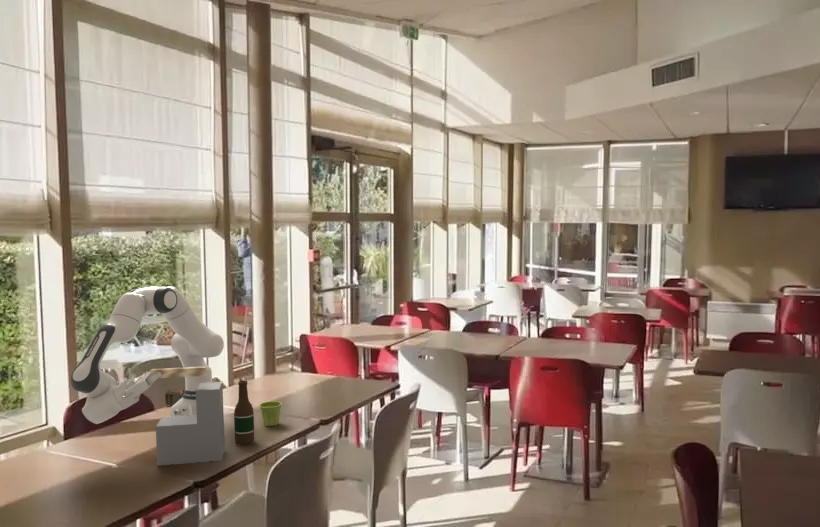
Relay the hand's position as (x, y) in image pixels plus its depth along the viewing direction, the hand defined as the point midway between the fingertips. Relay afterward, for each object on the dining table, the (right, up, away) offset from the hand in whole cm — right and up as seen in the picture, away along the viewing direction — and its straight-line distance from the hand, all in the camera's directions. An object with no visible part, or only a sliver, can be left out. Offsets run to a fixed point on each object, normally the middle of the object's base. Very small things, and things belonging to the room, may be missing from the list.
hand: (162, 372), depth 248 cm
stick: (+6, -2, +1) cm, 6 cm away
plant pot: (+30, -29, +44) cm, 61 cm away
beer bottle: (+25, -31, +20) cm, 44 cm away
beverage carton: (-18, -28, +83) cm, 90 cm away
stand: (+10, -32, +3) cm, 33 cm away
